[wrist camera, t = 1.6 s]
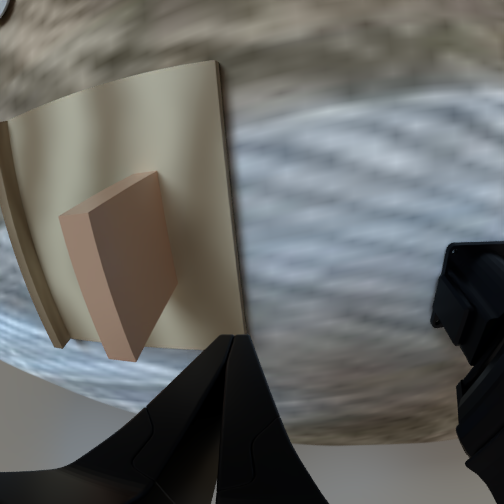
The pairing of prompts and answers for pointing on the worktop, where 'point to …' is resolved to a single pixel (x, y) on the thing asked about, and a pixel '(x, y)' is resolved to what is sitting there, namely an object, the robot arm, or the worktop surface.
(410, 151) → the worktop surface
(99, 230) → the tile
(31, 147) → the board
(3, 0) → the kitchen cleaver
